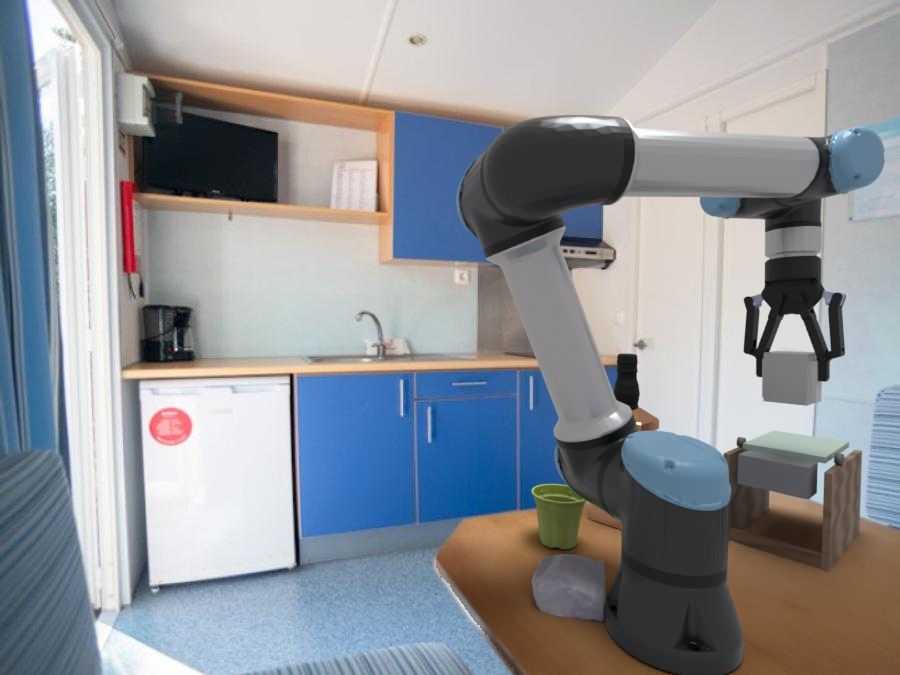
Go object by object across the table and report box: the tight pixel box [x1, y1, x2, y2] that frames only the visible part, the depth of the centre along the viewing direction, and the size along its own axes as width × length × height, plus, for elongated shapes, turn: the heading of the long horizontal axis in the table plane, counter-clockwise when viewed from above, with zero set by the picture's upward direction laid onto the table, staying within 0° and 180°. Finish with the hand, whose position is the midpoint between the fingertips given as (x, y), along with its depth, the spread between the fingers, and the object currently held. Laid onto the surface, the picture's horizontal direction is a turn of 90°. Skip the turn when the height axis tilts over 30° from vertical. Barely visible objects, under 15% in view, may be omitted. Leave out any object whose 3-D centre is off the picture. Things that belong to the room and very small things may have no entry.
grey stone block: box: [762, 350, 817, 407], centre depth 79 cm, size 6×6×8 cm
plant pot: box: [531, 483, 587, 551], centre depth 84 cm, size 9×9×9 cm
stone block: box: [531, 553, 607, 622], centre depth 68 cm, size 12×5×10 cm
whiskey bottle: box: [588, 353, 660, 531], centre depth 94 cm, size 10×10×32 cm
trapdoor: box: [738, 430, 850, 500], centre depth 87 cm, size 22×12×6 cm, turn 131°
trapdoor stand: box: [722, 436, 863, 572], centre depth 88 cm, size 22×15×17 cm
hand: (791, 399), depth 80 cm, fingers closed on grey stone block, 6 cm apart
